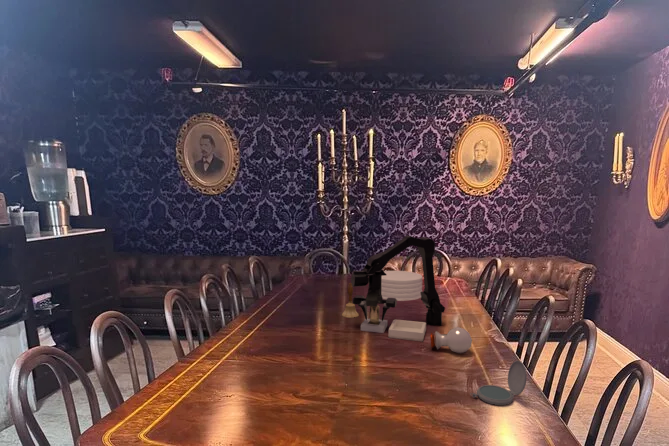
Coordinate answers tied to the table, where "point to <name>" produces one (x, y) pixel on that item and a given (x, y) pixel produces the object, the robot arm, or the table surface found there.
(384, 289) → the plate stack
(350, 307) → the hand bell
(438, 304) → the robot arm
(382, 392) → the table surface
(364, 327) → the collar block
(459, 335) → the potion bottle
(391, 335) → the tray
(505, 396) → the pocket watch
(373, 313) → the brass peg
